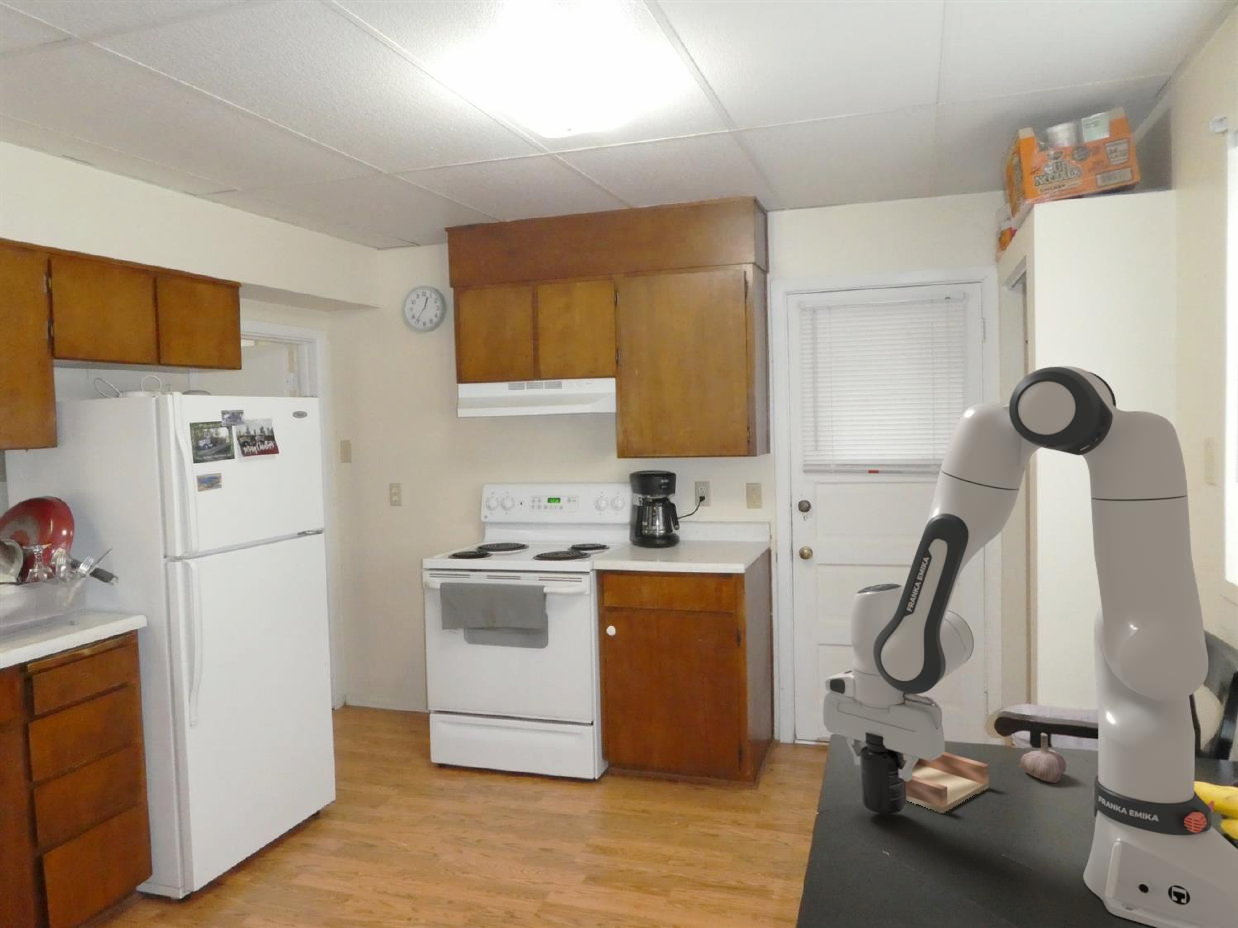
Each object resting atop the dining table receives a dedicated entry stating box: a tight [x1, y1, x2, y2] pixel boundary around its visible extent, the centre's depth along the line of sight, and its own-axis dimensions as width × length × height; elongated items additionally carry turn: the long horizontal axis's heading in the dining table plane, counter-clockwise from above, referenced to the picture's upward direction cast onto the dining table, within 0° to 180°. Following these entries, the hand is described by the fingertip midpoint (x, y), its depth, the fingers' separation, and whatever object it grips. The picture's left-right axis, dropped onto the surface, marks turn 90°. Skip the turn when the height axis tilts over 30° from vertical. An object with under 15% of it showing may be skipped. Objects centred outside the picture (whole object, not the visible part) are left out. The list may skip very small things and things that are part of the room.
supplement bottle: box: [859, 733, 907, 815], centre depth 142 cm, size 7×7×12 cm
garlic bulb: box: [1019, 732, 1067, 784], centre depth 157 cm, size 8×7×8 cm
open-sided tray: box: [904, 751, 990, 814], centre depth 153 cm, size 14×15×4 cm
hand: (882, 772), depth 142 cm, fingers closed on supplement bottle, 7 cm apart
